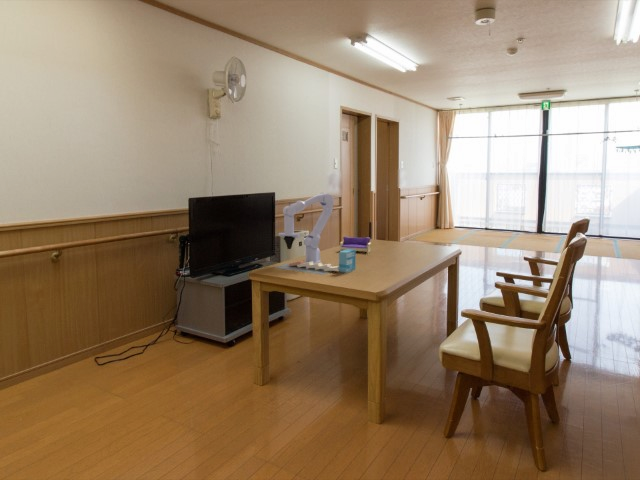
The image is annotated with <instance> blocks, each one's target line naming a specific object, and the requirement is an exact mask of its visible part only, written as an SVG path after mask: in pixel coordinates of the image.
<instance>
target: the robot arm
mask: <svg viewBox="0 0 640 480" xmlns="http://www.w3.org/2000/svg"><path fill="white" fill-rule="evenodd" d="M334 202H335V198H334V196H333V194H332V193H328V192H327V193H326V192H320V193H318V194H315V195H314V196H311V197H310V198H307V199H305V200H304V201H302V200H296V202H293V203H292V204H291V203H290V204H289V205H286V206H284V207H283V209H282V215H283V216H284V217H283V218H284V219H283V221H284V222H283V224H284V225H283V226H284V228H283V229H284V232H278V237H283V240H284V242H285V244H286V247H287V250H292V247H293V243H294V241H295V239H296V238H297V239H300V238H301V234H300V233H296V232H295V217H294V216H295V215H296V214H297V213H299V212H302V211H304V210H305V209H306V207H308V206H310V205H313V204H315V203H320V205H321V207H322V211H321V213H320V215H319V216H318V219H317V221H316V223H315V224H314V227H313V229H312V230H311V231H310V233H308V235H307V236H306V237H305V238H304V239H303V244H304V245H305V260H304V261H305V263H307V262H312V261H313V264H316V263H321V262H322V260H321V250H320V248H319V245H320V240H321V234H322V232H323V230H324V228H325V226H326V224H327V223H328V221H329V219H330V217H331V214H332V212H333V209H334Z"/></svg>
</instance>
